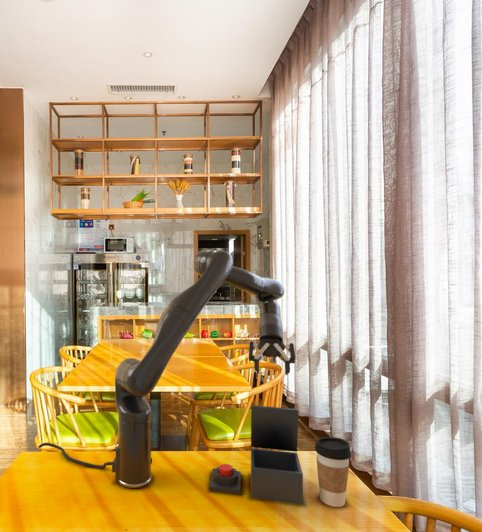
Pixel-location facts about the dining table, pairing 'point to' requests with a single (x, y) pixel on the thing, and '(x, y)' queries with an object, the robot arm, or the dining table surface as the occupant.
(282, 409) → the lid
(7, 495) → the dining table surface
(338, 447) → the coffee cup
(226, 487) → the block
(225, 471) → the button
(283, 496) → the dark grey lidded box
